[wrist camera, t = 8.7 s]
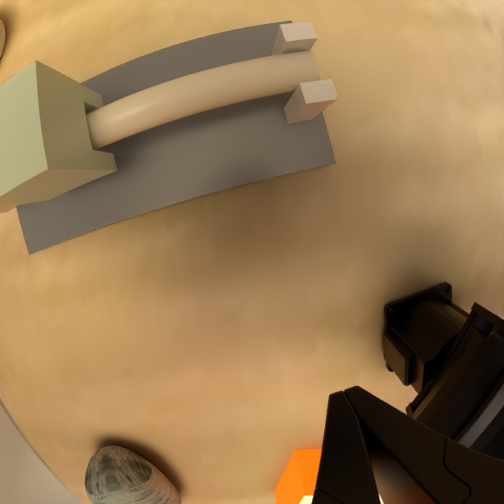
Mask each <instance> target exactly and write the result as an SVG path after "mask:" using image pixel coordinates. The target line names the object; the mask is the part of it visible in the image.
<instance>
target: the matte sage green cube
mask: <svg viewBox="0 0 504 504" xmlns="http://www.w3.org/2000/svg"><path fill="white" fill-rule="evenodd" d="M101 107H103V100H102V95H100V94H98V93H97V92H95V91H93V90H91V89H89V88H88V87H86V86H84V85H82V84H80V83H78V82H77V81H75V80H73V79H71V78H69V77H67V76H65V75H64V74H62V73H60V72H58V71H56V70H54V69H52V68H50V67H48V66H46V65H44V64H42V63H40V62H38V61H34V62H33V63H31V64H30V65H28V66H27V67H25V68H24V69H22V70H21V71H20V72H18V73H17V74H15V75H14V76H13V77H11V78H10V79H9V80H7V81H6V82H5V83H3V84H2V85H1V86H0V209H3V208H8V207H13V206H18V205H23V204H29V203H34V202H40V201H46V200H50V199H52V198H54V197H56V196H58V195H61V194H63V193H65V192H67V191H69V190H72V189H74V188H76V187H78V186H81V185H83V184H85V183H88V182H90V181H93V180H95V179H97V178H100V177H102V176H105V175H107V174H110V173H112V172H115V171H117V168H116V164H115V160H114V155H113V153H108V152H102V151H97V150H92V146H91V141H90V136H89V130H88V125H87V119H86V114H88V113H90V112H92V111H94V110H97V109H99V108H101Z"/></svg>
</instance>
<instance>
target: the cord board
mask: <svg viewBox="0 0 504 504" xmlns="http://www.w3.org/2000/svg"><path fill="white" fill-rule="evenodd" d="M316 39H317V36H316V33H315V31H314V28H313V26H312V23H311V21H309V22H298V23H292V21H286V22H278V23H271V24H264V25H258V26H252V27H246V28H241V29H236V30H231V31H226V32H222V33H217V34H213V35H209V36H205V37H201V38H198V39H194V40H190V41H187V42H184V43H180V44H177V45H174V46H171V47H167V48H164V49H161V50H159V51H156V52H153V53H150V54H147V55H144V56H142V57H139V58H137V59H134V60H131V61H129V62H126V63H124V64H122V65H119V66H117V67H115V68H112V69H110V70H108V71H106V72H103V73H101V74H99V75H97V76H95V77H93V78H91V79H89V80H87V81H85V82H83V83H81V84H82V85H84V86H86V87H88V88H89V89H91V90H93V91H95V92H97V93H98V94H100V95H102V100H103V107H101V108H99V109H97V110H94V111H92V112H90V113H88V114H86V119H87V125H88V130H89V136H90V141H91V146H92V150H97V151H102V152H108V153H113V155H114V160H115V164H116V168H117V171H115V172H112V173H110V174H107V175H105V176H102V177H100V178H97V179H95V180H93V181H90V182H88V183H85V184H83V185H81V186H78V187H76V188H74V189H72V190H69V191H67V192H65V193H63V194H61V195H58V196H56V197H54V198H52V199H50V200H46V201H40V202H34V203H29V204H23V205H18V206H13V207H8V208H3V209H0V213H4V212H8V211H10V210H11V209H13V208H15V207H16V208H17V212H18V216H19V220H20V224H21V228H22V232H23V235H24V239H25V242H26V246H27V249H28V252H29V255H30V254H33V253H35V252H38V251H40V250H43V249H45V248H48V247H50V246H53V245H56V244H58V243H61V242H63V241H66V240H69V239H71V238H74V237H77V236H80V235H82V234H85V233H88V232H91V231H94V230H96V229H99V228H102V227H105V226H108V225H111V224H114V223H117V222H120V221H123V220H126V219H129V218H132V217H135V216H138V215H141V214H144V213H147V212H150V211H153V210H157V209H160V208H163V207H166V206H170V205H173V204H176V203H180V202H183V201H186V200H190V199H193V198H197V197H200V196H204V195H207V194H211V193H215V192H218V191H222V190H226V189H229V188H233V187H237V186H241V185H245V184H249V183H252V182H256V181H260V180H265V179H269V178H273V177H277V176H281V175H285V174H290V173H294V172H298V171H303V170H307V169H312V168H317V167H321V166H326V165H331V164H336V163H335V159H334V155H333V151H332V147H331V143H330V139H329V135H328V131H327V128H326V124H325V120H324V117H323V113H322V111H323V110H325V109H326V108H327V107H328V106H330V105H331V104H332V103H333V102H335V101H336V100H337V99H338V98H337V94H336V91H335V88H334V85H333V82H332V79H326V80H320V77H319V69H318V65H317V61H316V59H315V57H314V55H313V54H312V52H311V51H310V50H311V48H312V46H313V44H314V43H315V41H316Z"/></svg>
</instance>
